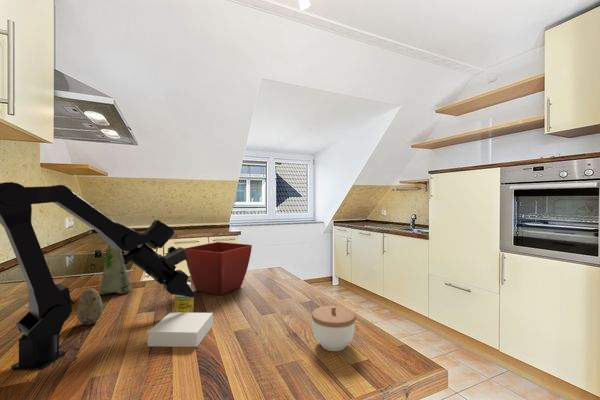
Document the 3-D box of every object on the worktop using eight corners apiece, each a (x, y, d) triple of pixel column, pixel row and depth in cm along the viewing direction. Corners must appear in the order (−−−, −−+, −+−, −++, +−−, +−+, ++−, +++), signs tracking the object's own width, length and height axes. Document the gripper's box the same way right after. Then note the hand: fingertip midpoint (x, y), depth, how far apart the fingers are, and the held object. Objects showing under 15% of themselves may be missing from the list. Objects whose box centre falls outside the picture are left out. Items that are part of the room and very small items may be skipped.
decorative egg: (72, 329, 79) (72, 292, 79) (82, 320, 84) (82, 286, 84) (97, 327, 80) (98, 290, 80) (105, 318, 86) (106, 284, 86)
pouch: (116, 298, 103) (116, 228, 103) (87, 296, 105) (87, 227, 105) (138, 288, 114) (138, 225, 114) (111, 287, 116) (111, 224, 116)
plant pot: (182, 291, 111) (182, 247, 111) (217, 279, 128) (218, 241, 128) (219, 300, 102) (220, 252, 102) (252, 286, 119) (253, 245, 119)
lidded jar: (320, 359, 65) (320, 317, 65) (306, 337, 75) (306, 301, 75) (363, 352, 68) (363, 312, 68) (343, 332, 78) (344, 297, 78)
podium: (197, 346, 70) (197, 332, 70) (147, 346, 70) (147, 331, 70) (212, 325, 82) (212, 312, 82) (170, 324, 82) (170, 312, 82)
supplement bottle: (191, 310, 93) (191, 280, 93) (195, 315, 88) (195, 284, 88) (173, 313, 90) (173, 282, 90) (176, 319, 85) (176, 287, 85)
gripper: (180, 243, 79) (218, 277, 86) (162, 236, 94) (196, 265, 101) (148, 277, 74) (192, 309, 81) (134, 264, 89) (172, 292, 96)
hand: (188, 292), depth 90 cm, fingers open, 9 cm apart
